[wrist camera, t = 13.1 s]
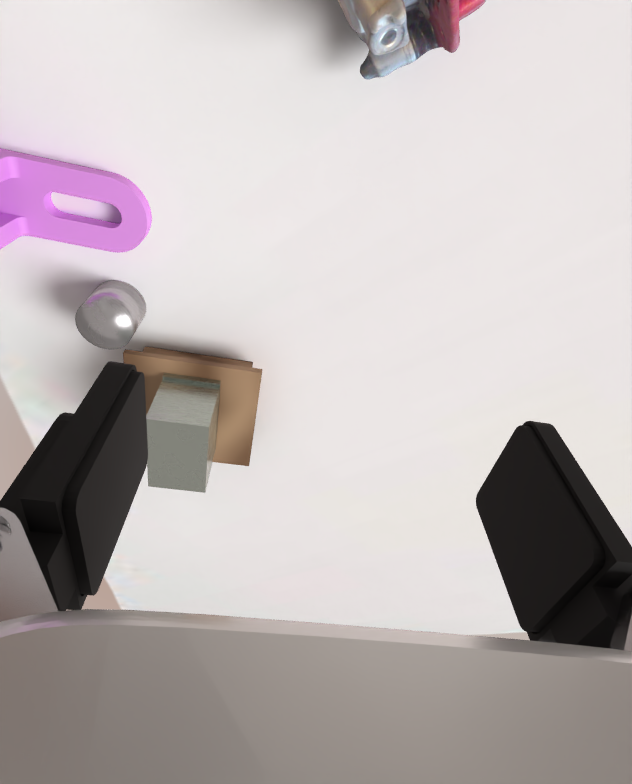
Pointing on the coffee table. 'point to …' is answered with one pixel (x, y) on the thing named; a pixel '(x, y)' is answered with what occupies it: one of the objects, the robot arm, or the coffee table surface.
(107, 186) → the bracket
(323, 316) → the coffee table surface
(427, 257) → the coffee table surface
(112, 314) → the knob
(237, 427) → the stand
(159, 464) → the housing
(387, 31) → the brake caliper
